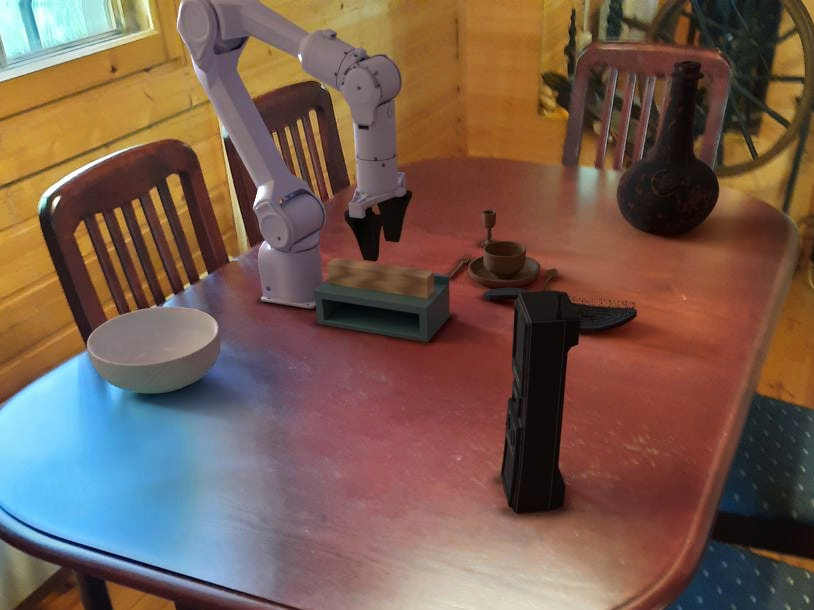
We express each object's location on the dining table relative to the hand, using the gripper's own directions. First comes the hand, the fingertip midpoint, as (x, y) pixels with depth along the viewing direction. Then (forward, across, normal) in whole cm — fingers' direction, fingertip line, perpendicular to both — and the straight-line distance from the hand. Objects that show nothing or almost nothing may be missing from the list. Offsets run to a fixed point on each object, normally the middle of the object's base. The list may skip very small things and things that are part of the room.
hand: (381, 250), depth 125 cm
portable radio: (+10, -35, -34) cm, 50 cm away
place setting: (+10, +24, -12) cm, 29 cm away
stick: (+5, -2, -1) cm, 5 cm away
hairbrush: (+10, +9, -24) cm, 28 cm away
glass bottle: (+10, +51, -33) cm, 62 cm away
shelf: (+10, -2, -1) cm, 11 cm away
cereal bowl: (+11, -28, +20) cm, 36 cm away
